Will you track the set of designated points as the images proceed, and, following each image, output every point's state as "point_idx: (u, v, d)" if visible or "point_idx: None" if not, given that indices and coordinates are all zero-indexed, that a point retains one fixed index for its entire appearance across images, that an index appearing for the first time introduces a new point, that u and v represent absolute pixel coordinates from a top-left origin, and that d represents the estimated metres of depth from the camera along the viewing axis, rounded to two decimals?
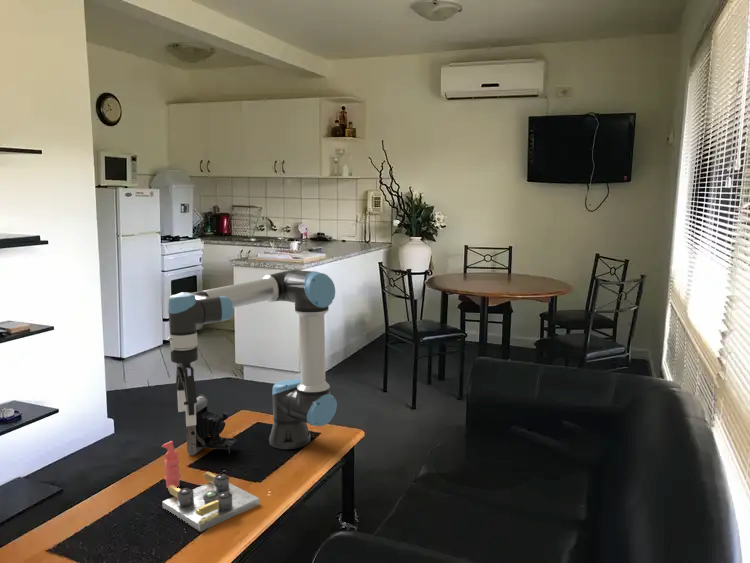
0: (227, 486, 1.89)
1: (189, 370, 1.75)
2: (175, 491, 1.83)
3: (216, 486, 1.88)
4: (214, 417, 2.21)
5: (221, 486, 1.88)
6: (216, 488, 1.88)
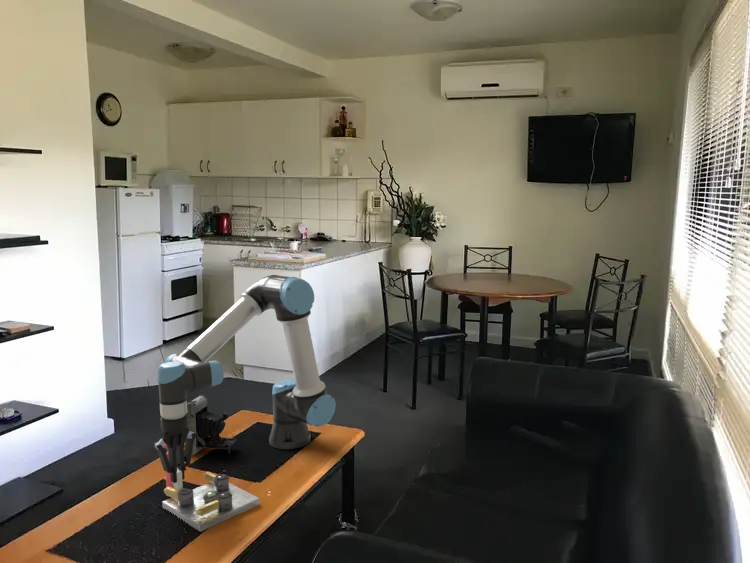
0: (227, 486, 1.89)
1: (156, 447, 1.78)
2: (173, 492, 1.83)
3: (216, 486, 1.88)
4: (214, 417, 2.21)
5: (221, 486, 1.88)
6: (216, 488, 1.88)
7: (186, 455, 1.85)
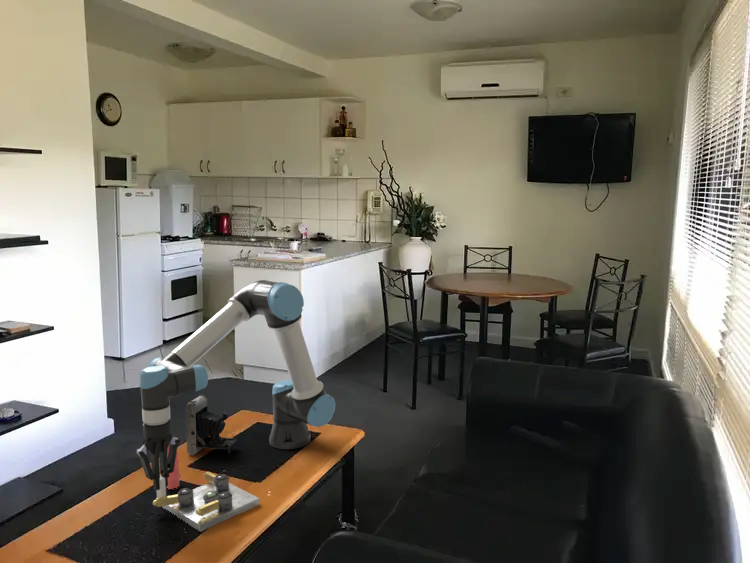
0: (227, 486, 1.89)
1: (138, 453, 1.74)
2: (169, 499, 1.79)
3: (216, 486, 1.88)
4: (214, 417, 2.21)
5: (221, 486, 1.88)
6: (216, 488, 1.88)
7: (169, 461, 1.81)
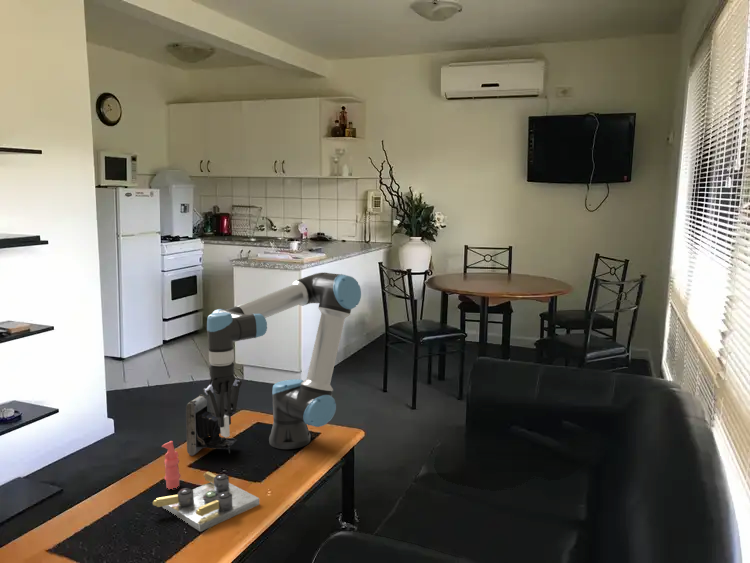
0: (227, 486, 1.89)
1: (205, 391, 1.89)
2: (169, 499, 1.79)
3: (216, 486, 1.88)
4: (214, 417, 2.21)
5: (221, 486, 1.88)
6: (216, 488, 1.88)
7: (232, 401, 1.96)
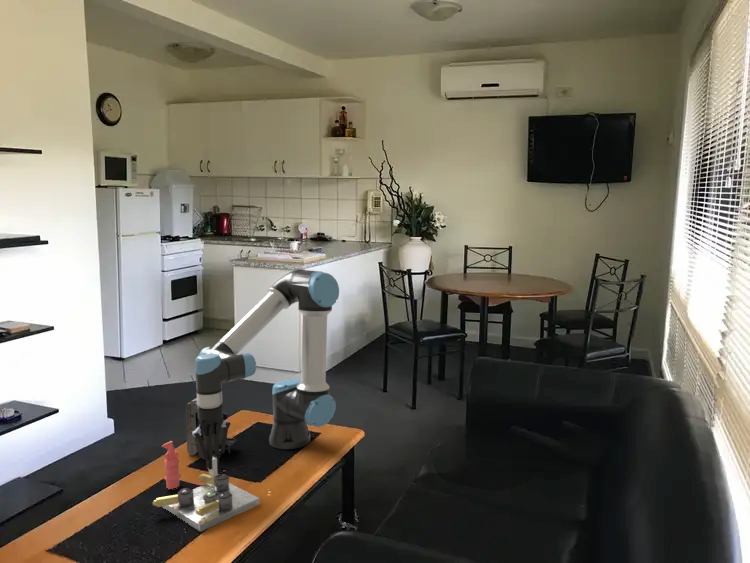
0: (228, 485, 1.90)
1: (193, 434, 1.87)
2: (169, 499, 1.79)
3: (217, 487, 1.88)
4: None
5: (222, 486, 1.88)
6: (217, 488, 1.88)
7: (220, 443, 1.94)
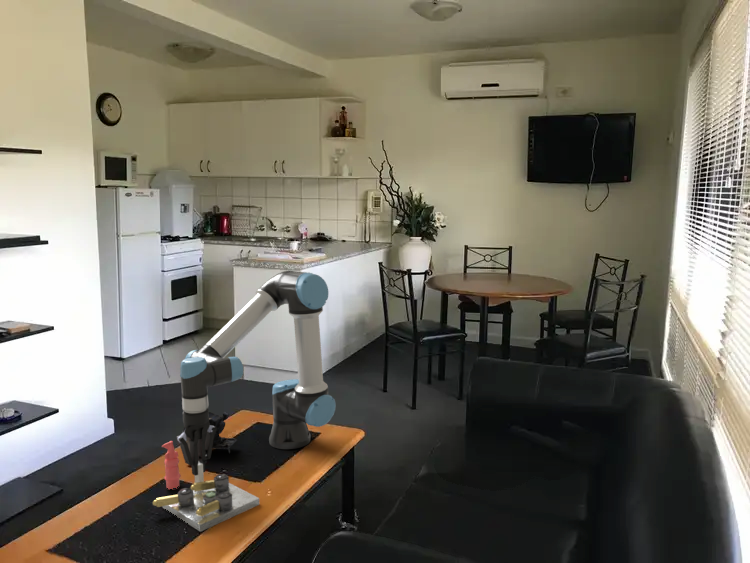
0: None
1: (178, 440, 1.83)
2: (169, 499, 1.79)
3: (223, 486, 1.88)
4: (214, 417, 2.21)
5: (227, 483, 1.89)
6: (223, 488, 1.88)
7: (207, 448, 1.91)
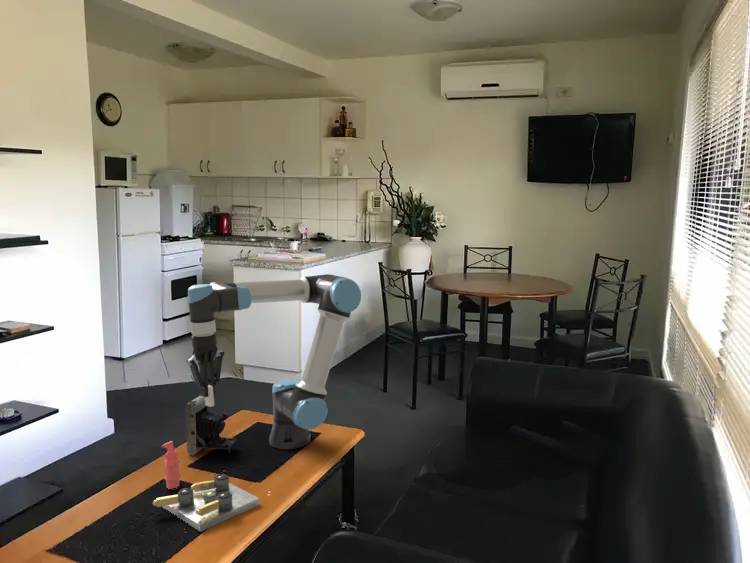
0: None
1: (189, 362, 1.92)
2: (169, 499, 1.79)
3: (223, 486, 1.88)
4: (214, 417, 2.21)
5: (227, 483, 1.89)
6: (224, 488, 1.88)
7: (216, 372, 2.00)
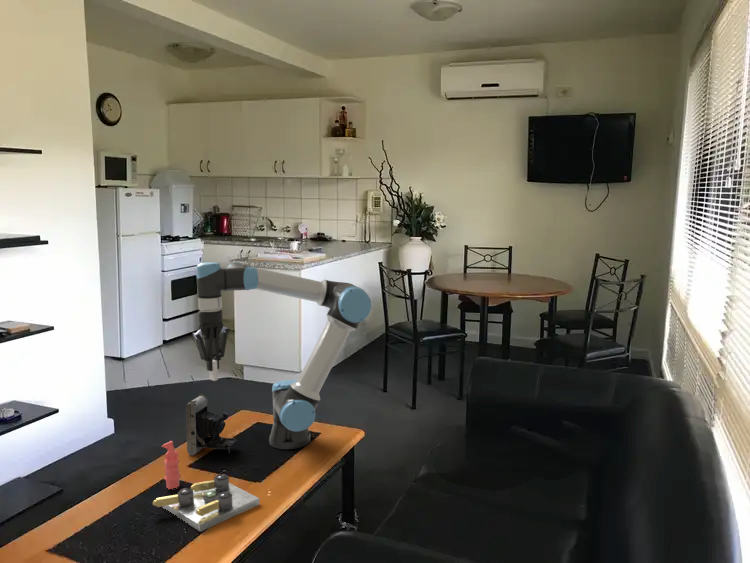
0: None
1: (195, 336, 2.00)
2: (169, 499, 1.79)
3: (223, 486, 1.88)
4: (214, 417, 2.21)
5: (227, 483, 1.89)
6: (224, 488, 1.88)
7: (220, 347, 2.07)
